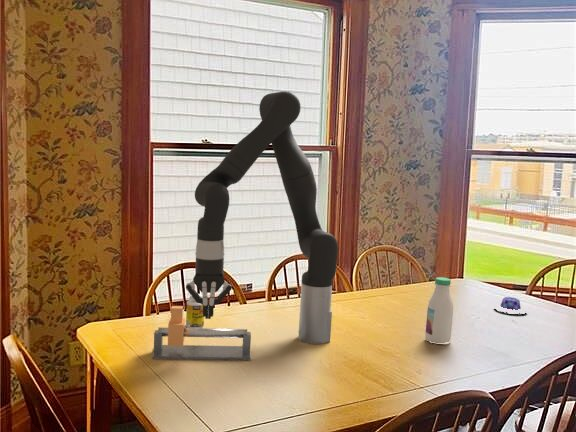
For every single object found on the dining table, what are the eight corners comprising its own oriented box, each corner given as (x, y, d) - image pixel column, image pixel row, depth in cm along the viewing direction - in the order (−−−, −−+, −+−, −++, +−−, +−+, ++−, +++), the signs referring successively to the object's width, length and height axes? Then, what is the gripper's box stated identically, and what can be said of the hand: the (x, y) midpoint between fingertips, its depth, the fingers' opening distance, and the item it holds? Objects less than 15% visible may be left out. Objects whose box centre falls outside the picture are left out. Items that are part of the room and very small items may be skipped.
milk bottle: (452, 340, 193) (458, 278, 190) (447, 347, 186) (453, 282, 184) (427, 336, 196) (433, 274, 194) (422, 342, 189) (427, 279, 187)
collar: (184, 339, 171) (185, 304, 170) (182, 346, 165) (184, 310, 164) (169, 339, 171) (170, 304, 169) (167, 346, 165) (168, 310, 163)
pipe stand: (248, 349, 175) (250, 323, 174) (250, 360, 166) (251, 334, 165) (155, 347, 172) (156, 322, 171) (152, 359, 163) (153, 332, 162)
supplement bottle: (190, 330, 189) (191, 298, 187) (182, 325, 193) (184, 293, 192) (206, 328, 192) (208, 296, 190) (199, 323, 196) (200, 292, 195)
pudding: (492, 313, 228) (493, 300, 228) (494, 306, 239) (495, 293, 239) (526, 318, 224) (528, 304, 223) (526, 310, 235) (528, 297, 234)
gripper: (234, 253, 170) (232, 314, 172) (185, 252, 169) (184, 313, 171) (234, 259, 163) (232, 322, 165) (184, 257, 161) (182, 321, 164)
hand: (207, 318), depth 168 cm, fingers closed
